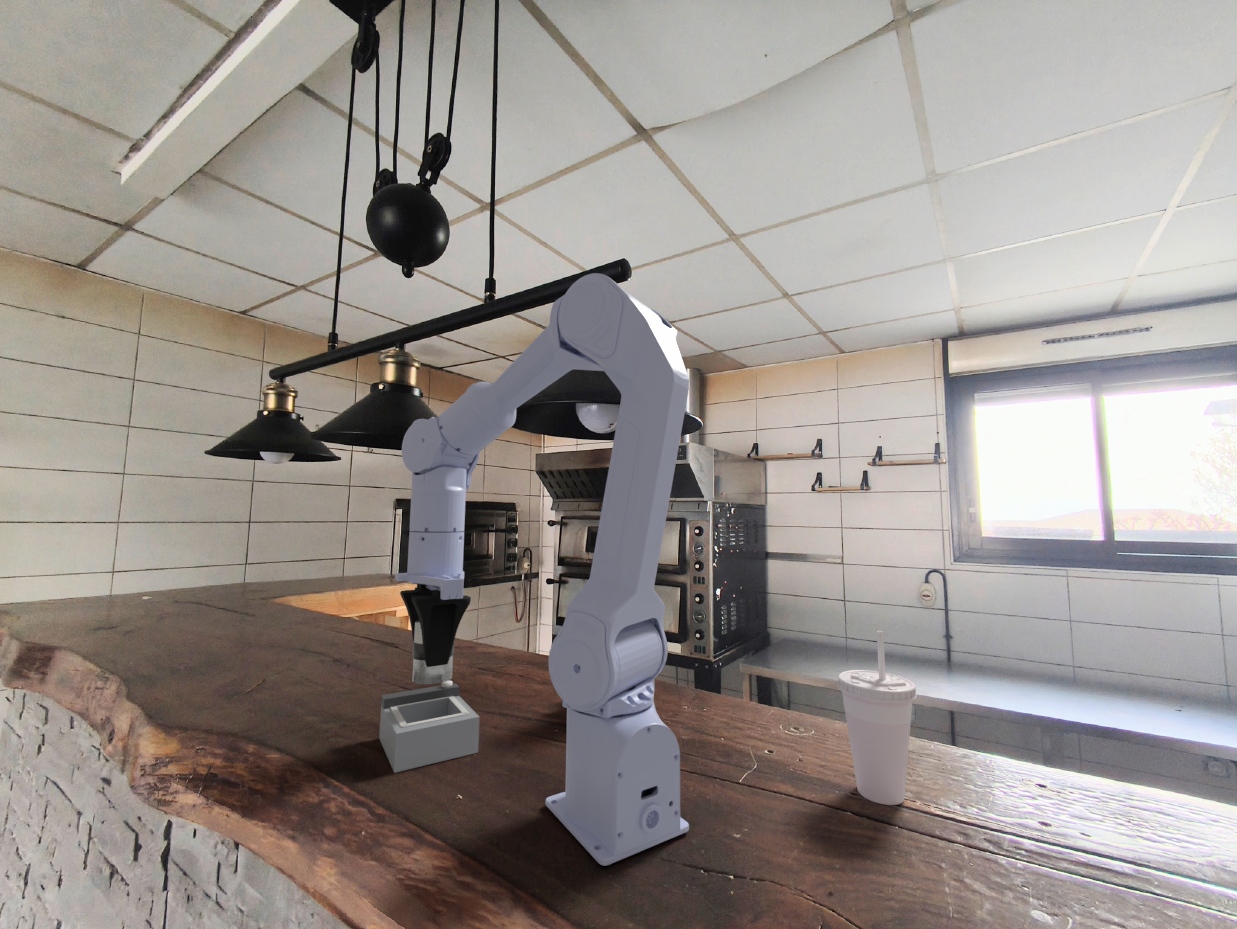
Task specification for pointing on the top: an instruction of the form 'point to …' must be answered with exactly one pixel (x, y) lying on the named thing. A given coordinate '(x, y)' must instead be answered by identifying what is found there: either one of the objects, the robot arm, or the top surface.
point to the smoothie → (878, 728)
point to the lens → (420, 669)
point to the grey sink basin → (427, 726)
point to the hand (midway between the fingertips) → (431, 659)
